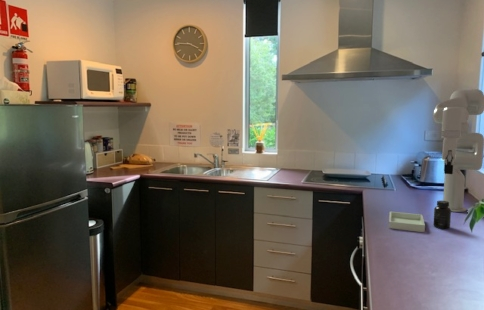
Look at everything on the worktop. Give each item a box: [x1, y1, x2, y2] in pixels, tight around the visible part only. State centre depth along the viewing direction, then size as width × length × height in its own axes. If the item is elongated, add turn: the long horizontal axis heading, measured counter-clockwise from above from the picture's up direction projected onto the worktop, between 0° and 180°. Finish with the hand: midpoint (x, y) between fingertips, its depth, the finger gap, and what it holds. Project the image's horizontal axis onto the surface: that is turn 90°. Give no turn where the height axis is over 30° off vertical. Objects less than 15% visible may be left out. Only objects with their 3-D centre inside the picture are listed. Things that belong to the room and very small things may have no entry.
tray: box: [388, 211, 426, 233], centre depth 171 cm, size 18×15×3 cm
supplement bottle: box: [433, 200, 452, 230], centre depth 166 cm, size 7×7×12 cm
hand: (448, 172), depth 165 cm, fingers open, 9 cm apart
